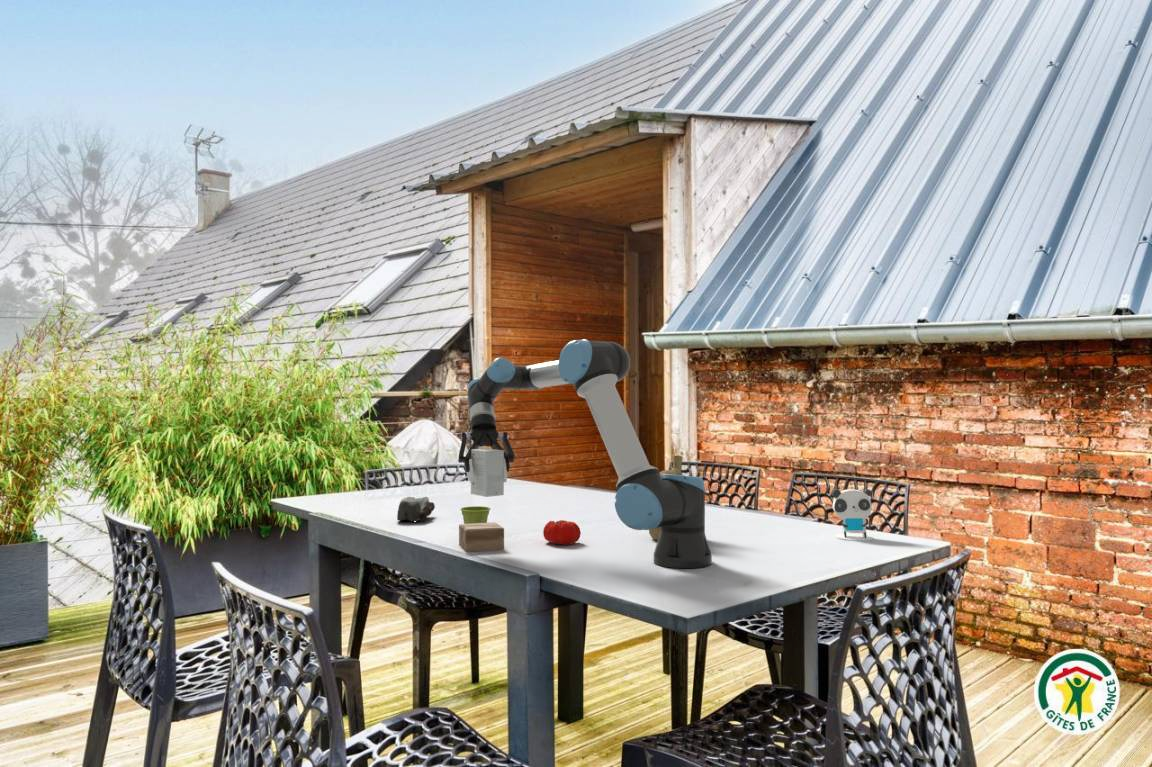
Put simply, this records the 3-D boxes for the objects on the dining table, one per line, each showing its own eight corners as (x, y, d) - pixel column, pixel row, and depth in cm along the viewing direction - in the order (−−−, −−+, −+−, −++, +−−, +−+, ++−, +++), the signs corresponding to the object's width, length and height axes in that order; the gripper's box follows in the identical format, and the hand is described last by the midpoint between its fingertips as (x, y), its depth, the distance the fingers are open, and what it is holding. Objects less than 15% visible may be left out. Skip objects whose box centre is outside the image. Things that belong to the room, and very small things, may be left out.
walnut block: (504, 549, 233) (504, 527, 233) (465, 551, 230) (465, 529, 230) (495, 542, 243) (495, 522, 244) (459, 545, 240) (459, 523, 240)
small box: (504, 495, 234) (504, 450, 234) (485, 497, 230) (485, 451, 230) (488, 492, 240) (489, 448, 240) (470, 494, 236) (470, 449, 236)
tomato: (560, 539, 250) (560, 517, 250) (586, 543, 242) (586, 521, 243) (536, 543, 243) (536, 521, 244) (562, 548, 236) (562, 525, 236)
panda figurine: (835, 540, 247) (834, 490, 248) (829, 534, 258) (829, 486, 259) (876, 541, 245) (876, 491, 246) (868, 535, 257) (868, 487, 257)
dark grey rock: (427, 524, 279) (428, 501, 279) (395, 524, 279) (395, 501, 279) (436, 516, 297) (436, 494, 297) (405, 516, 297) (405, 494, 297)
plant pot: (496, 535, 257) (496, 507, 257) (477, 539, 249) (477, 511, 249) (473, 532, 262) (473, 505, 262) (454, 537, 254) (454, 509, 254)
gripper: (516, 429, 252) (524, 487, 237) (446, 429, 247) (449, 488, 232) (519, 412, 247) (527, 470, 232) (447, 412, 242) (450, 471, 227)
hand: (488, 479), depth 232 cm, fingers closed on small box, 9 cm apart
